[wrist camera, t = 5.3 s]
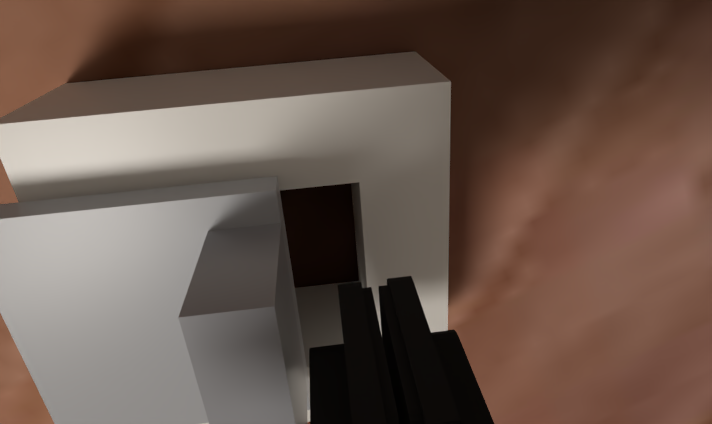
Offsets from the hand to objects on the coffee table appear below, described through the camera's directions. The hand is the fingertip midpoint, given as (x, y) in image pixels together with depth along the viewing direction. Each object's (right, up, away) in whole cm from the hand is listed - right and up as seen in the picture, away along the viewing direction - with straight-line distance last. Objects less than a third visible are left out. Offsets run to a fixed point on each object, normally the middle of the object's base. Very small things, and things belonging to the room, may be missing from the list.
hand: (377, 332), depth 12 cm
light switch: (-3, +3, +5) cm, 7 cm away
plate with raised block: (-5, 0, +1) cm, 5 cm away
